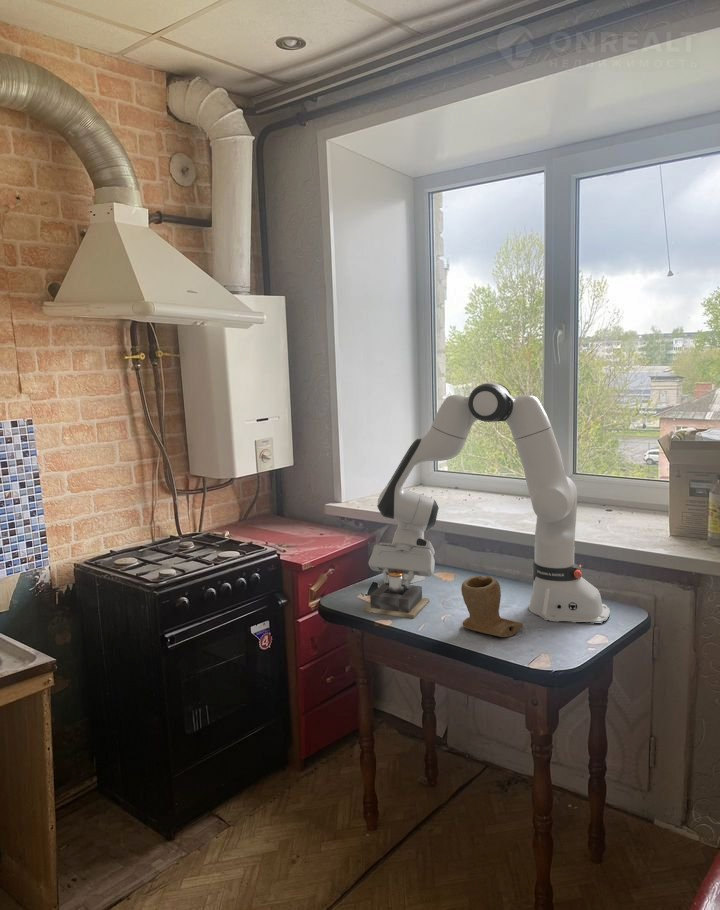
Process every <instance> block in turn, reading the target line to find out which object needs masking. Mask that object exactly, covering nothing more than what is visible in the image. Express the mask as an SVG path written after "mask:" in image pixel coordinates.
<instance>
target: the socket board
mask: <svg viewBox="0 0 720 910" xmlns="http://www.w3.org/2000/svg"><path fill="white" fill-rule="evenodd" d="M369 599H370V600H369V602H368V603H367V604H366V605H365V606H364V607H362V612H364V611H369V612H368V613H371V612H373V614H380V615H388V616H394V617H401V618H409V619H415V618H416V617H417V616H418V615H419V614H420V612H422V611H423V609H424V608H426V606H428V605H429V603H430V598H428V597H423V586H421V585H413V584H409V585H408V587H404V594H403V595H398V594H390V593H389V585H385V584H384V583H382V584H381V585H380V586H379V587H378V588H376V589H375V590H374V591H373V592H372V593H370V596H369Z"/></svg>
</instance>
